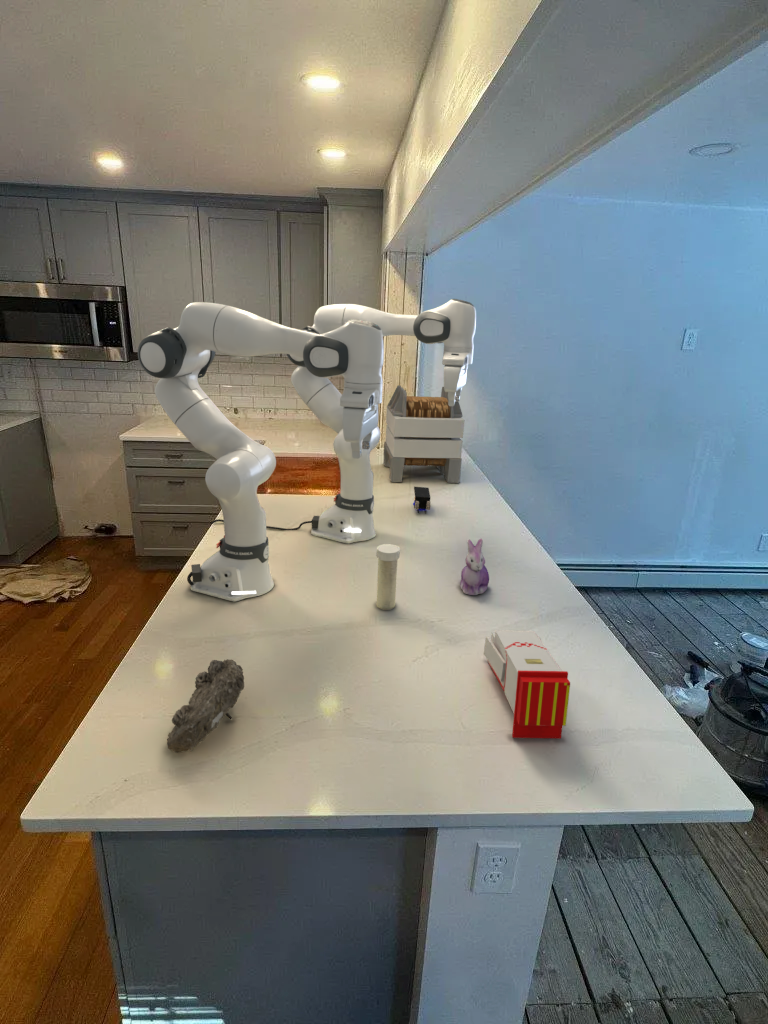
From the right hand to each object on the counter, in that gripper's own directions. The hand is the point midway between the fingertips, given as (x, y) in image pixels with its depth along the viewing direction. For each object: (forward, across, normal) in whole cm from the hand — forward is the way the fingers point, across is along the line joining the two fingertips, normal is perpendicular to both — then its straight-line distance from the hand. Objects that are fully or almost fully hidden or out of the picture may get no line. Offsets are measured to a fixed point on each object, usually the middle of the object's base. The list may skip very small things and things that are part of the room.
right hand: (454, 403), depth 174 cm
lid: (+32, +45, -7) cm, 55 cm away
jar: (+48, +45, -7) cm, 66 cm away
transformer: (+48, -86, -27) cm, 102 cm away
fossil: (+48, +98, -26) cm, 112 cm away
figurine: (+48, +27, +14) cm, 57 cm away
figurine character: (+48, -34, -15) cm, 61 cm away
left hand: (+6, +49, -14) cm, 52 cm away
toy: (+48, +71, +29) cm, 91 cm away
